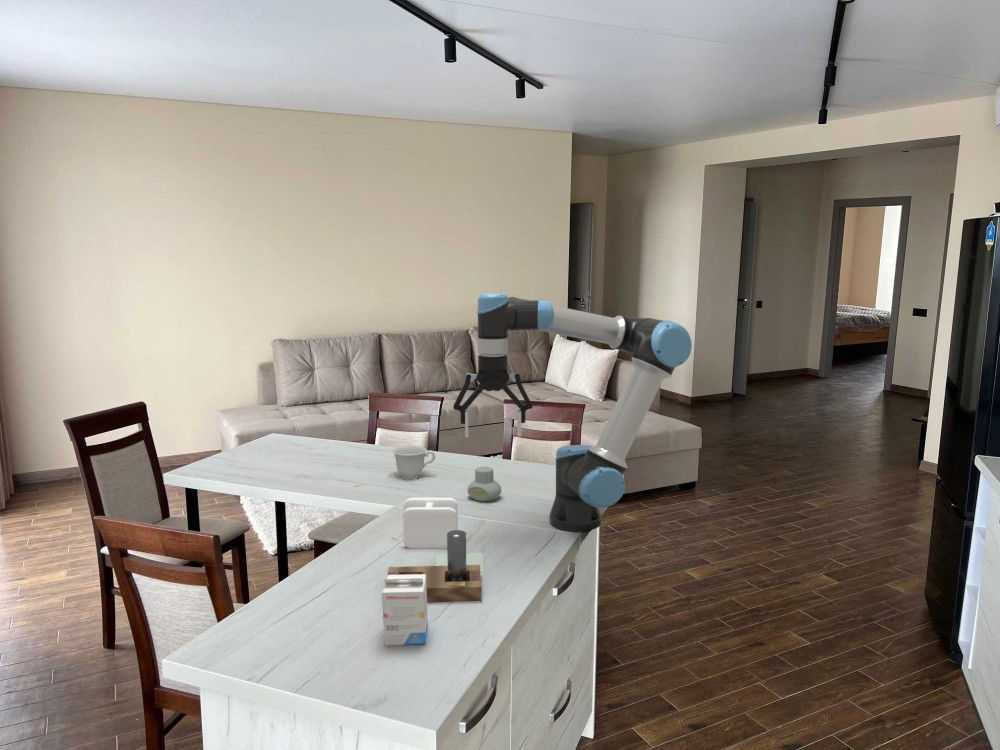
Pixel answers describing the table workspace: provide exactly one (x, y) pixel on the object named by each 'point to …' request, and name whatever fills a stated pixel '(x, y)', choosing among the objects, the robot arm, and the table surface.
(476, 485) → the air freshener
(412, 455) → the teacup
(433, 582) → the socket block
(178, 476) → the table surface
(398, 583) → the ink box
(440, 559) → the mat
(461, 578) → the plug
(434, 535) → the cable organizer
